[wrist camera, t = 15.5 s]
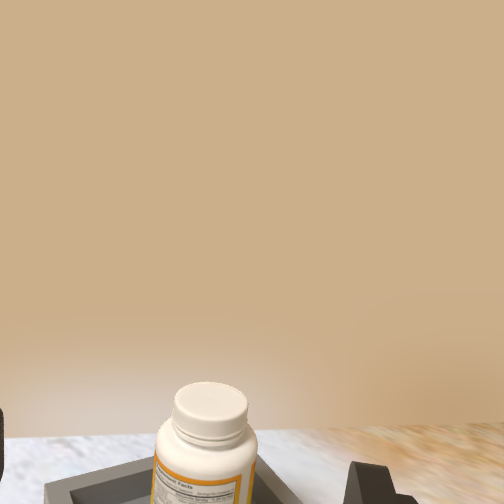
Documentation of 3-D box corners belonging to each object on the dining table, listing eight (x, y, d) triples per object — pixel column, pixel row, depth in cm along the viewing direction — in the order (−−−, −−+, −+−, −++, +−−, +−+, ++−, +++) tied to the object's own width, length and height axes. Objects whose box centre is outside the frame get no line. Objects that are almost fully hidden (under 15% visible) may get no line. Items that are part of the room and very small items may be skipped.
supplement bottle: (198, 509, 30) (214, 365, 28) (261, 565, 26) (285, 404, 24) (124, 556, 26) (137, 392, 24) (187, 630, 22) (208, 443, 20)
